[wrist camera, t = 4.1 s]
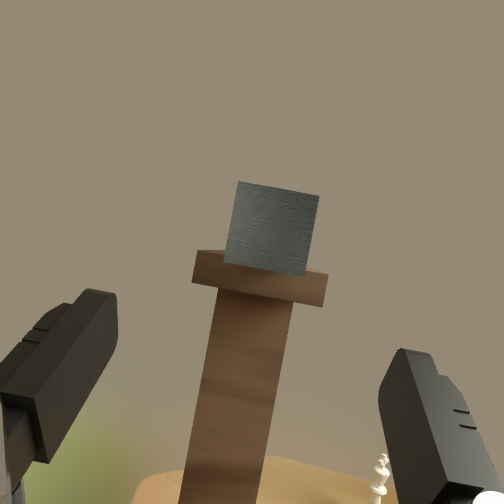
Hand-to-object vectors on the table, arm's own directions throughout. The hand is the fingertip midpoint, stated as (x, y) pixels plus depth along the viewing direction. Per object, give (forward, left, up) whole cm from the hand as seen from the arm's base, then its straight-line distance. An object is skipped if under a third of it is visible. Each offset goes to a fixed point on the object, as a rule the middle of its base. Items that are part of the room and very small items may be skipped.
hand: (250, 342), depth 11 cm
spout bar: (0, -14, +2) cm, 14 cm away
